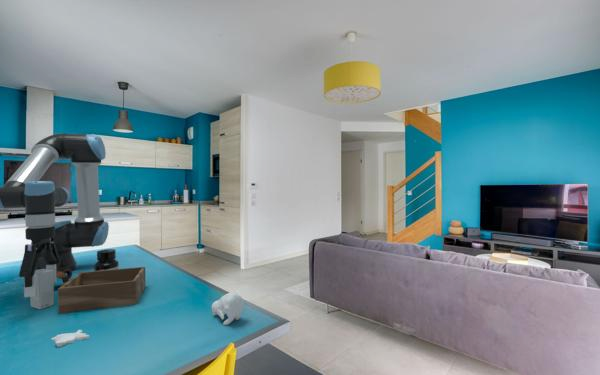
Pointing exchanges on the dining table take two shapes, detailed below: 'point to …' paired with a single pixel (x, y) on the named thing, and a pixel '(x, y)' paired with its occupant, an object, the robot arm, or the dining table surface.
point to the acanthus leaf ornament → (69, 338)
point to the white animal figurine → (228, 307)
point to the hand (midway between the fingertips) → (41, 289)
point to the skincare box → (43, 289)
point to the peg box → (101, 289)
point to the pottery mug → (64, 275)
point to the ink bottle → (106, 260)
